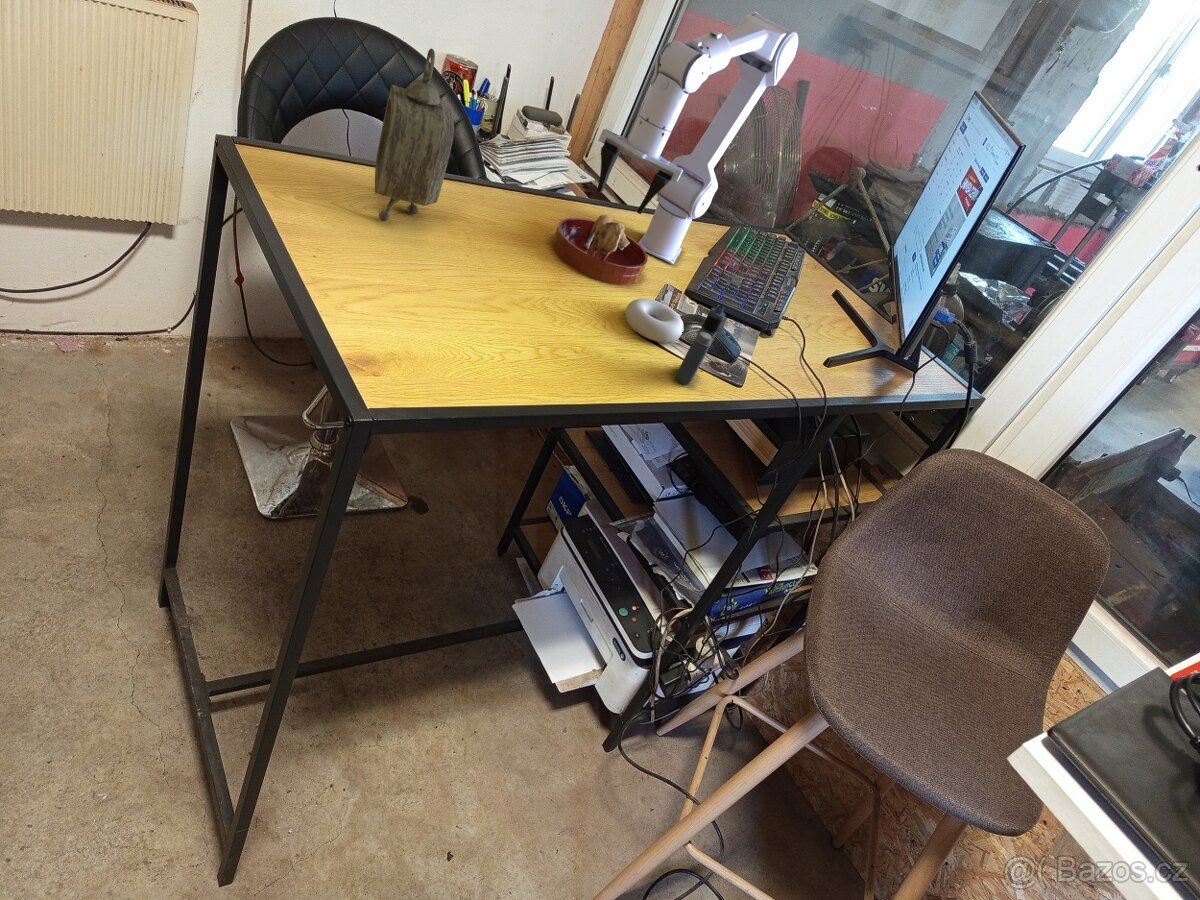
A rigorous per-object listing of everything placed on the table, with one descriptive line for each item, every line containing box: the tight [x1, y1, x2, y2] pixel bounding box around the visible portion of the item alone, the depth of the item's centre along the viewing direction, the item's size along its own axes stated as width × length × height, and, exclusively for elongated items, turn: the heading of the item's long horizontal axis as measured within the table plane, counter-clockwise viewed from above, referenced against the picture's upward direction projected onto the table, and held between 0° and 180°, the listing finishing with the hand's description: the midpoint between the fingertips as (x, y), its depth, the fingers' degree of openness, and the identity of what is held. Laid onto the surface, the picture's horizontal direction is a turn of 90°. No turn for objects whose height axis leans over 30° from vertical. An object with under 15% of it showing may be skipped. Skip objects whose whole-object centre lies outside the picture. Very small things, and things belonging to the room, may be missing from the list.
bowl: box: [551, 217, 649, 286], centre depth 138 cm, size 17×17×4 cm
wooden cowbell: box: [374, 48, 455, 222], centre depth 118 cm, size 14×9×25 cm, turn 14°
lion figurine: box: [583, 214, 629, 261], centre depth 137 cm, size 15×5×9 cm, turn 13°
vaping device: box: [675, 304, 726, 386], centre depth 114 cm, size 3×5×12 cm, turn 161°
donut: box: [624, 298, 684, 344], centre depth 125 cm, size 10×3×10 cm
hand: (619, 201), depth 131 cm, fingers open, 7 cm apart
